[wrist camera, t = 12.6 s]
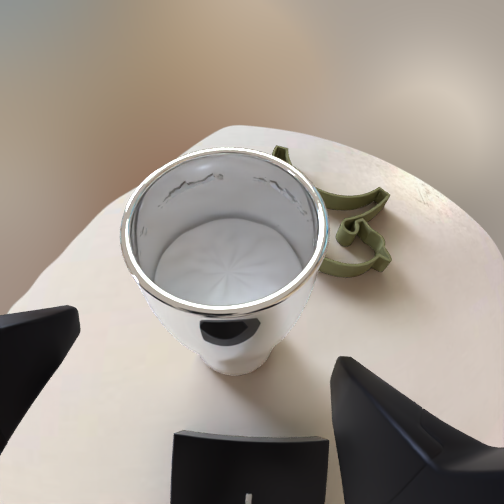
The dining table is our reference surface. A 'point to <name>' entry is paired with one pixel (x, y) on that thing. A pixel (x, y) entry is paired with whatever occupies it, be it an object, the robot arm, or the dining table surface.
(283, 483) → the hob panel
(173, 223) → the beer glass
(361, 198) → the cookie cutter
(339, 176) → the dining table surface
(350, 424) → the robot arm
